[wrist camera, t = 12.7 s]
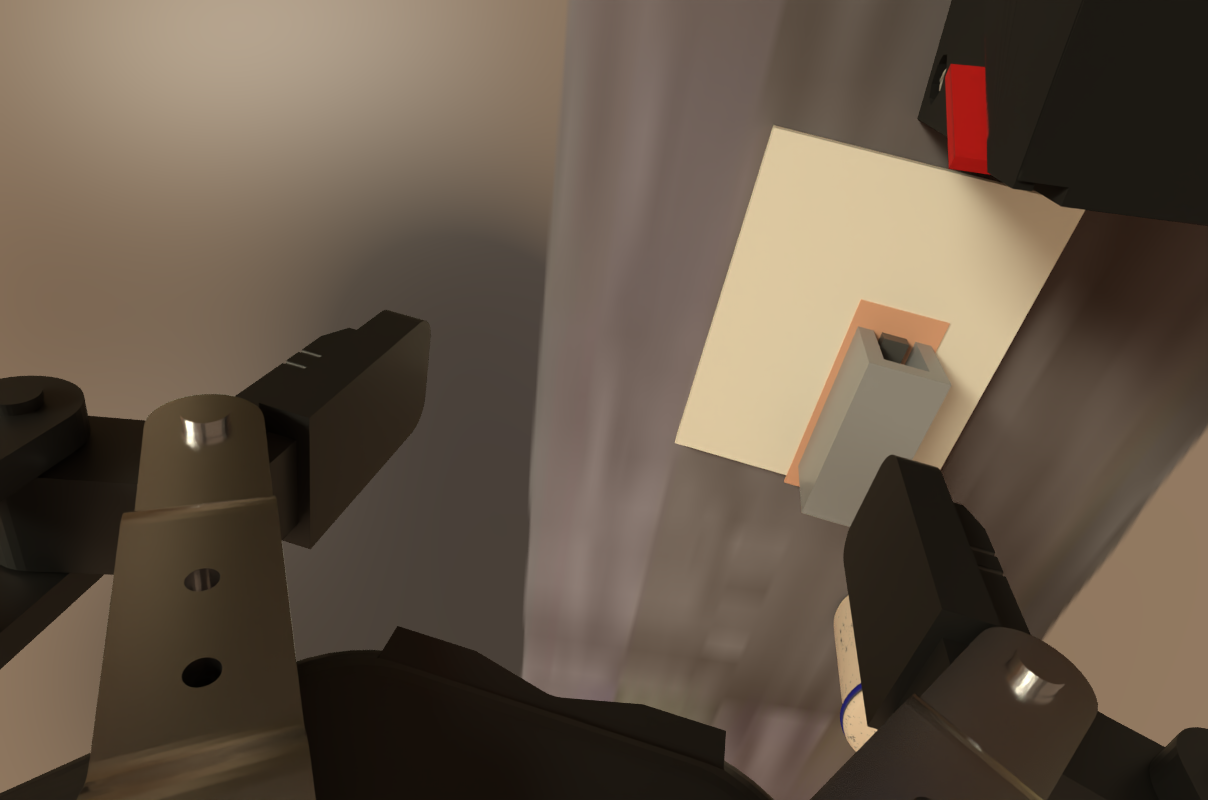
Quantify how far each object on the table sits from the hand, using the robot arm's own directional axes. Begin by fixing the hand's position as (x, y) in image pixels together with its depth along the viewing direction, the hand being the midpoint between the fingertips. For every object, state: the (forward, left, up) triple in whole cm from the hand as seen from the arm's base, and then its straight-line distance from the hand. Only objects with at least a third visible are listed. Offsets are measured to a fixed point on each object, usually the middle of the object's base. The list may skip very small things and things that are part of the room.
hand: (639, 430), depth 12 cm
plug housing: (+12, +12, -29) cm, 34 cm away
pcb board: (+8, +10, -30) cm, 33 cm away
